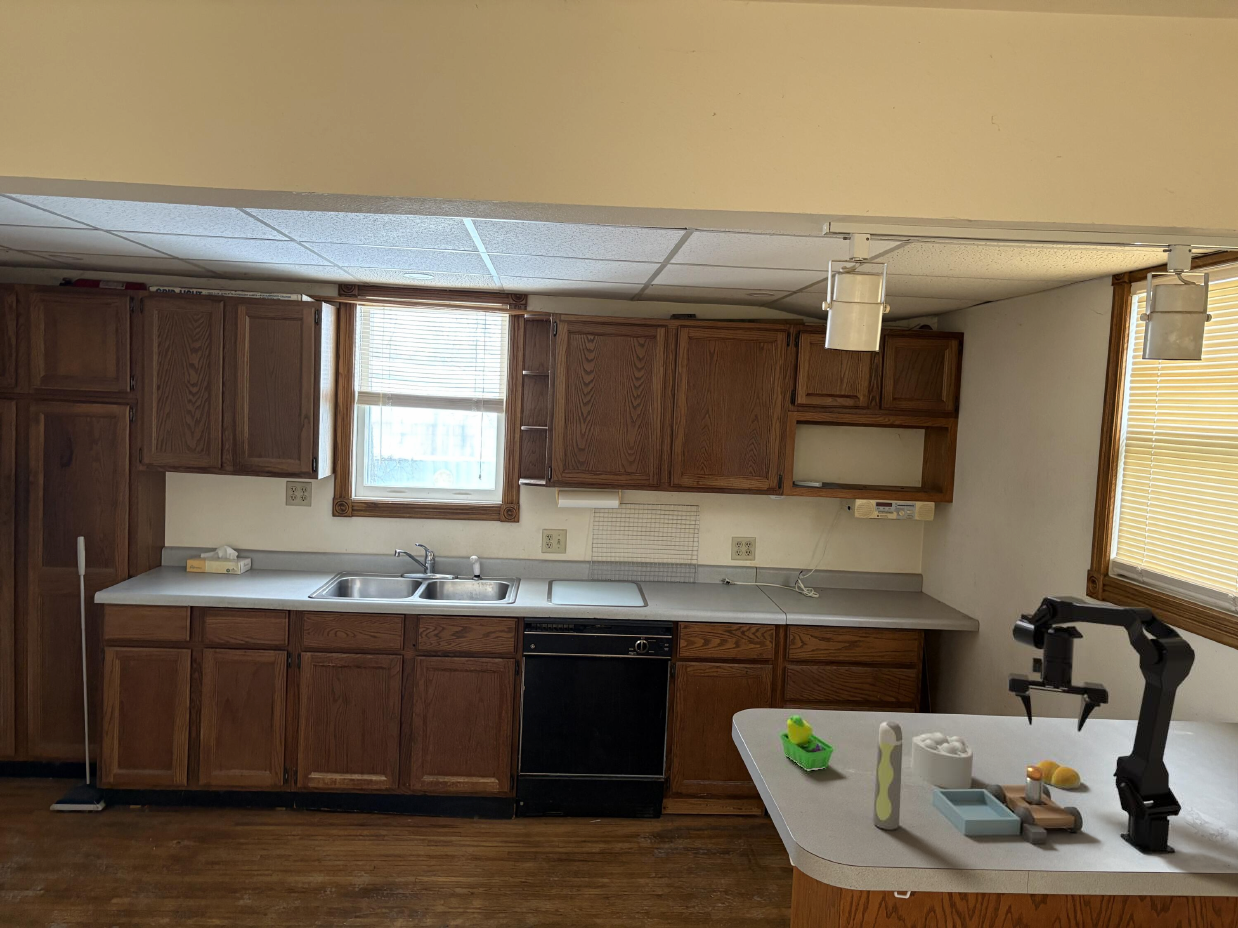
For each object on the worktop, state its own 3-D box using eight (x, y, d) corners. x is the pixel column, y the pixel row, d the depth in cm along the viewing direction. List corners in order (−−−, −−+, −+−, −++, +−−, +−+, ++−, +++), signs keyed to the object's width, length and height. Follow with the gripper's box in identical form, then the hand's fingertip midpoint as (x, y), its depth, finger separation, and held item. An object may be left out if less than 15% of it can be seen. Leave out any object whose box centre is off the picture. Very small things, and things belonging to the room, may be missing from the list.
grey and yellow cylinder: (878, 816, 166) (883, 716, 165) (902, 824, 163) (908, 722, 162) (868, 824, 163) (873, 723, 161) (893, 833, 160) (898, 729, 158)
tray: (1019, 834, 161) (1020, 819, 161) (964, 835, 160) (965, 819, 160) (983, 803, 174) (984, 788, 174) (932, 803, 173) (933, 789, 173)
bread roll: (1071, 793, 180) (1072, 775, 180) (1028, 779, 187) (1029, 761, 187) (1086, 783, 186) (1088, 765, 185) (1044, 769, 192) (1045, 752, 192)
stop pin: (1043, 821, 167) (1047, 771, 166) (1029, 821, 166) (1032, 771, 166) (1034, 814, 170) (1038, 765, 169) (1020, 814, 169) (1023, 765, 169)
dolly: (1091, 843, 158) (1093, 820, 158) (1031, 844, 157) (1033, 821, 157) (1037, 800, 176) (1039, 780, 175) (983, 801, 174) (984, 780, 174)
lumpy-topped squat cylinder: (941, 763, 194) (943, 726, 193) (984, 786, 182) (986, 747, 181) (904, 768, 190) (906, 730, 190) (945, 793, 178) (948, 752, 178)
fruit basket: (835, 770, 187) (837, 720, 187) (801, 775, 184) (803, 725, 184) (805, 751, 198) (807, 703, 197) (772, 755, 195) (775, 707, 194)
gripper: (1101, 651, 184) (1098, 722, 184) (1007, 641, 190) (1004, 709, 191) (1110, 664, 173) (1106, 739, 174) (1010, 653, 180) (1007, 725, 181)
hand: (1054, 727), depth 180 cm, fingers open, 9 cm apart
